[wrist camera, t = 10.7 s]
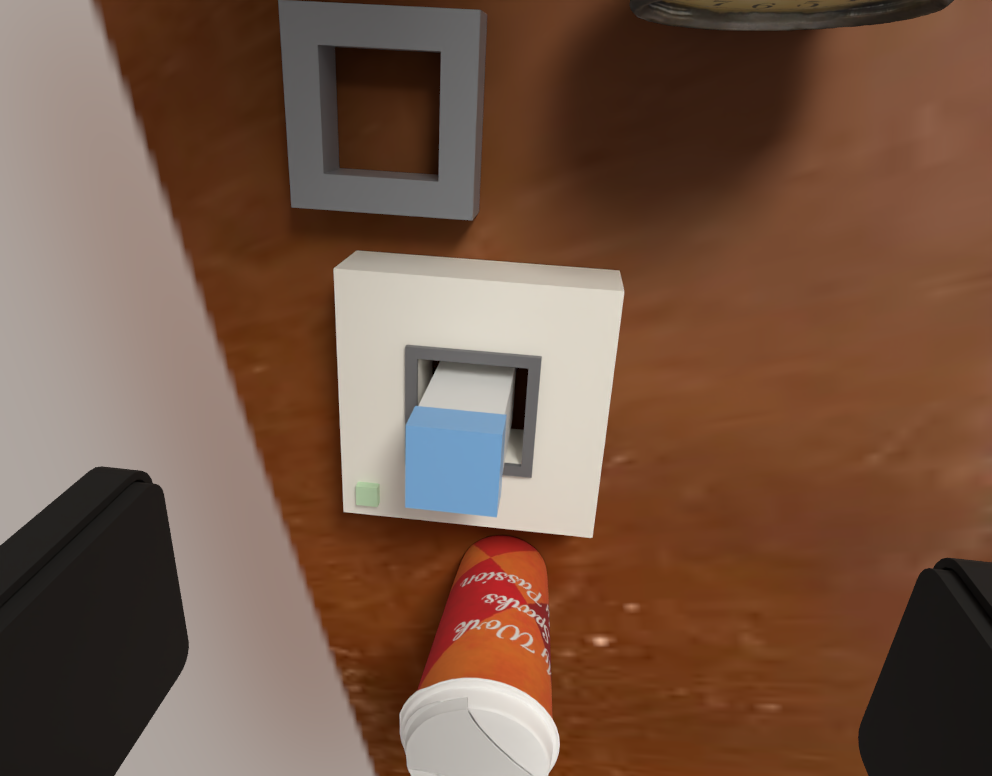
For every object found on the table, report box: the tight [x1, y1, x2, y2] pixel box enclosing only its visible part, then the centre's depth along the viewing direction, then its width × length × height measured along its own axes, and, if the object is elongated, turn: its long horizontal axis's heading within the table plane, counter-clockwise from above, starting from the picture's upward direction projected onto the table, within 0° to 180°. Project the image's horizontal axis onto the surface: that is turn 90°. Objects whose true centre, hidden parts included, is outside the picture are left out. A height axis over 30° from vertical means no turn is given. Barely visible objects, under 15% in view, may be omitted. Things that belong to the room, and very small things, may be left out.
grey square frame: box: [278, 0, 487, 220], centre depth 34 cm, size 9×9×2 cm
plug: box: [405, 361, 517, 517], centre depth 36 cm, size 4×4×10 cm
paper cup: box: [400, 535, 560, 776], centre depth 39 cm, size 8×8×14 cm
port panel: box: [334, 250, 624, 538], centre depth 38 cm, size 14×14×4 cm
